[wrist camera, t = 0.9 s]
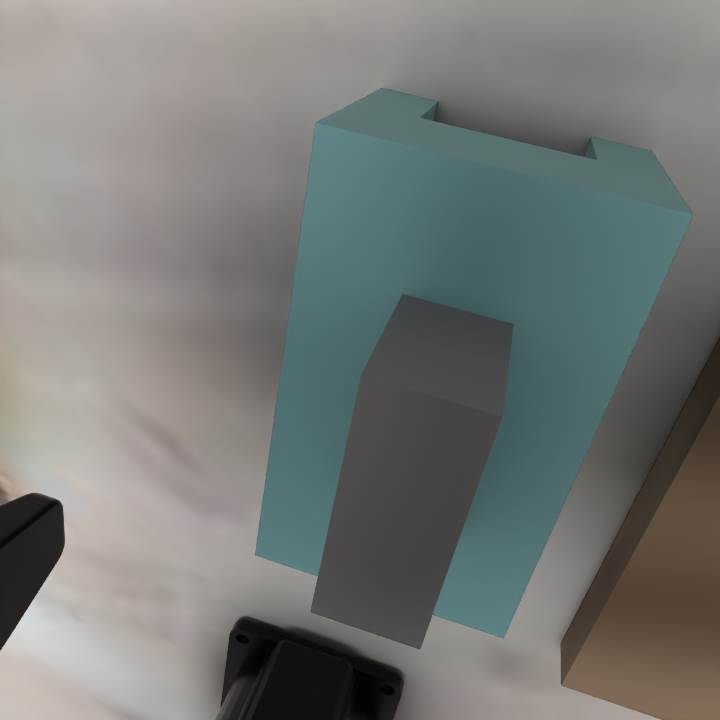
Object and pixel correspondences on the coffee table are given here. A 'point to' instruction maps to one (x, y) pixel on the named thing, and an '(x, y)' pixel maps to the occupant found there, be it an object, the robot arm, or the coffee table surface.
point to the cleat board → (661, 582)
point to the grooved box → (450, 357)
